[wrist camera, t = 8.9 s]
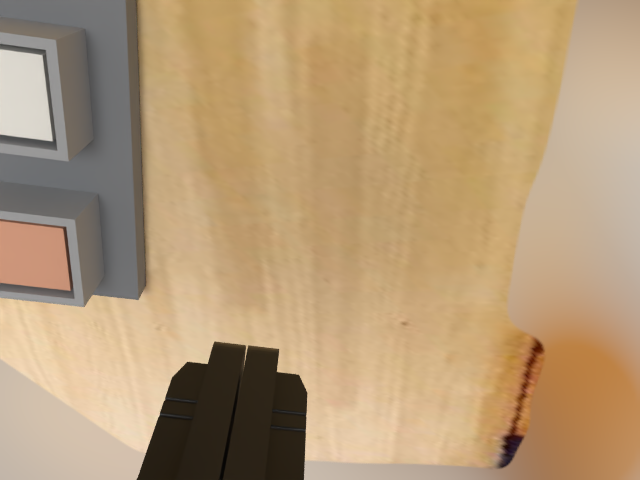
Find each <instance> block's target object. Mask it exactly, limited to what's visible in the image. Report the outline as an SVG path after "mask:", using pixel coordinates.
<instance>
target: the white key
mask: <svg viewBox="0 0 640 480" xmlns="http://www.w3.org/2000/svg"><path fill="white" fill-rule="evenodd" d="M0 135H7V136H15V137H23V138H31V139H38V140H46V141H54V140H55V139H56V134H55V125H54V116H53V108H52V99H51V91H50V82H49V73H48V65H47V56H46V50H42V49H35V48H28V47H21V46H14V45H6V44H0Z"/></svg>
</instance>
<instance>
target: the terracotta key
mask: <svg viewBox="0 0 640 480" xmlns="http://www.w3.org/2000/svg"><path fill="white" fill-rule="evenodd" d="M0 283H6V284H15V285H24V286H33V287H42V288H50V289H59V290H68V291H71V290H72V288H73V279H72V271H71V262H70V254H69V245H68V237H67V228H66V227H64V226H55V225H47V224H39V223H30V222H22V221H14V220H5V219H0Z"/></svg>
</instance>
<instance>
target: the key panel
mask: <svg viewBox="0 0 640 480" xmlns="http://www.w3.org/2000/svg"><path fill="white" fill-rule="evenodd" d="M0 44H6V45H14V46H21V47H28V48H35V49H42V50H46V56H47V65H48V73H49V82H50V91H51V99H52V108H53V116H54V125H55V134H56V139H55V140H54V141H46V140H38V139H31V138H23V137H15V136H7V135H0V219H5V220H14V221H22V222H30V223H39V224H47V225H55V226H64V227H66V228H67V237H68V245H69V254H70V262H71V271H72V279H73V288H72V290H71V291H68V290H59V289H50V288H42V287H33V286H24V285H15V284H6V283H0V298H8V299H17V300H26V301H35V302H44V303H53V304H62V305H71V306H80V307H85V305H86V304H87V302H88V300H89V299H90V297H91V296H92V295H99V296H108V297H117V298H126V299H135V300H139V298H140V296H141V294H142V292H143V290H144V288H145V286H146V276H145V246H144V217H143V187H142V157H141V128H140V98H139V68H138V39H137V9H136V0H0Z"/></svg>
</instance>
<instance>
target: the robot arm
mask: <svg viewBox="0 0 640 480" xmlns="http://www.w3.org/2000/svg"><path fill="white" fill-rule="evenodd" d="M245 351H246V345H239V344H230V343H222V342H214V344H213V347H212V351H211V354H210V358H209V362H208V364H201V363H193V362H187V363H186V364H185V365H184V366H183V367H182V368H181V369H180V370H179V371H178V372H177V373H176V374H175V375H174V376H173V377H172V380H171V383H170V386H169V388H168V391H167V394H166V398H165V401H164V403H163V406H162V409H161V412H160V416H159V417H158V420H157V423H156V426H155V429H154V432H153V435H152V438H151V441H150V444H149V446H148V449H147V452H146V455H145V458H144V461H143V464H142V467H141V470H140V473H139V475H138V478H137V480H304V462H305V438H306V433H305V432H306V413H307V391H306V389H305V387H304V385H303V383H302V380H301V378H300V376H299V375H296V374H288V373H279V372H277V365H278V356H279V349H273V348H265V347H256V346H248V349H247V355H246V360H245ZM244 361H245V365H244Z"/></svg>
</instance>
